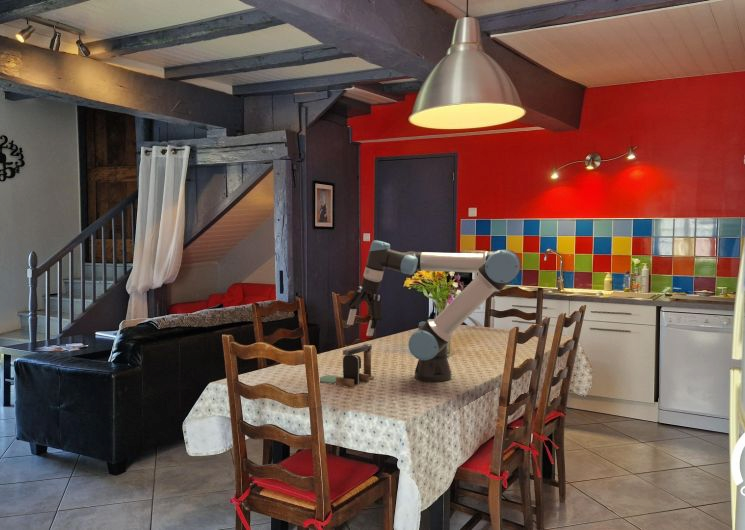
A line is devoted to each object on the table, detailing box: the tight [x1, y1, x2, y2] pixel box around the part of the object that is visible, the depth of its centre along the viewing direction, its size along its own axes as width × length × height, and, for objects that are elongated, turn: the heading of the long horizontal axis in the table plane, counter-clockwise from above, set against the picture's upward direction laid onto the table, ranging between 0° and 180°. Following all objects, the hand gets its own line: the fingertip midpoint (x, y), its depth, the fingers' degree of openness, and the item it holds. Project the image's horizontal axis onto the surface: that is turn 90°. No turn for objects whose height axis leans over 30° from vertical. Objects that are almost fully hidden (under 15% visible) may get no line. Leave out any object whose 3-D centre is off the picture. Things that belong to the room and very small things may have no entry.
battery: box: [342, 354, 362, 386], centre depth 252 cm, size 7×4×11 cm, turn 60°
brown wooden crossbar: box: [342, 343, 373, 356], centre depth 255 cm, size 4×17×2 cm, turn 146°
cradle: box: [335, 350, 375, 389], centre depth 255 cm, size 8×19×12 cm, turn 146°
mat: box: [319, 374, 343, 385], centre depth 258 cm, size 10×10×1 cm
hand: (359, 330), depth 256 cm, fingers open, 13 cm apart
